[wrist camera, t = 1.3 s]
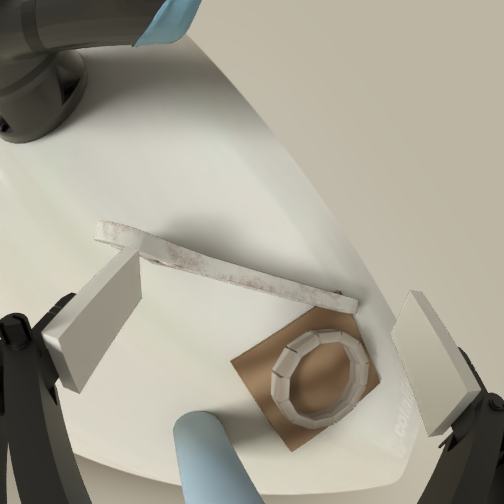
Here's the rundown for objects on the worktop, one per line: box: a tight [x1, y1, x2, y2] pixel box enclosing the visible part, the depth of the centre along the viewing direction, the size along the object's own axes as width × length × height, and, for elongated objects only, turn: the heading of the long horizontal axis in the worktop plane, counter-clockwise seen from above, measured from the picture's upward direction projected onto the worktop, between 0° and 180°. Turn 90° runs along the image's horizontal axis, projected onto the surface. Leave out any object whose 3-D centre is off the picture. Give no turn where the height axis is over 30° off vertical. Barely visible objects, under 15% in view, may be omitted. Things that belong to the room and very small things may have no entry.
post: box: [173, 411, 265, 504], centre depth 22 cm, size 6×6×16 cm
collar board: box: [230, 291, 380, 452], centre depth 33 cm, size 16×16×3 cm
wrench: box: [94, 221, 359, 314], centre depth 30 cm, size 8×2×30 cm
